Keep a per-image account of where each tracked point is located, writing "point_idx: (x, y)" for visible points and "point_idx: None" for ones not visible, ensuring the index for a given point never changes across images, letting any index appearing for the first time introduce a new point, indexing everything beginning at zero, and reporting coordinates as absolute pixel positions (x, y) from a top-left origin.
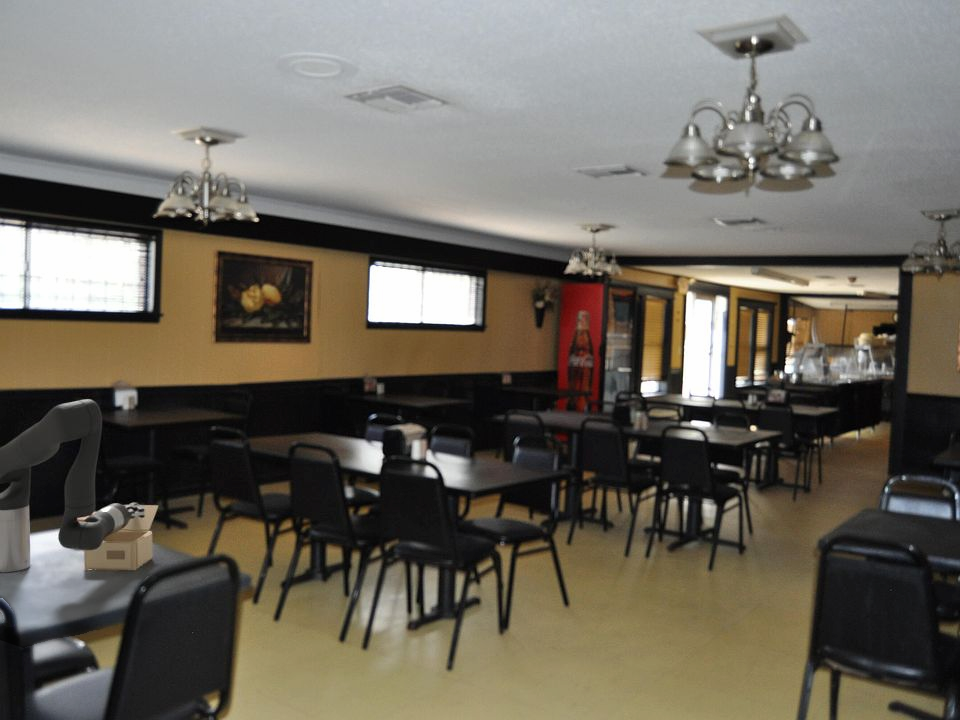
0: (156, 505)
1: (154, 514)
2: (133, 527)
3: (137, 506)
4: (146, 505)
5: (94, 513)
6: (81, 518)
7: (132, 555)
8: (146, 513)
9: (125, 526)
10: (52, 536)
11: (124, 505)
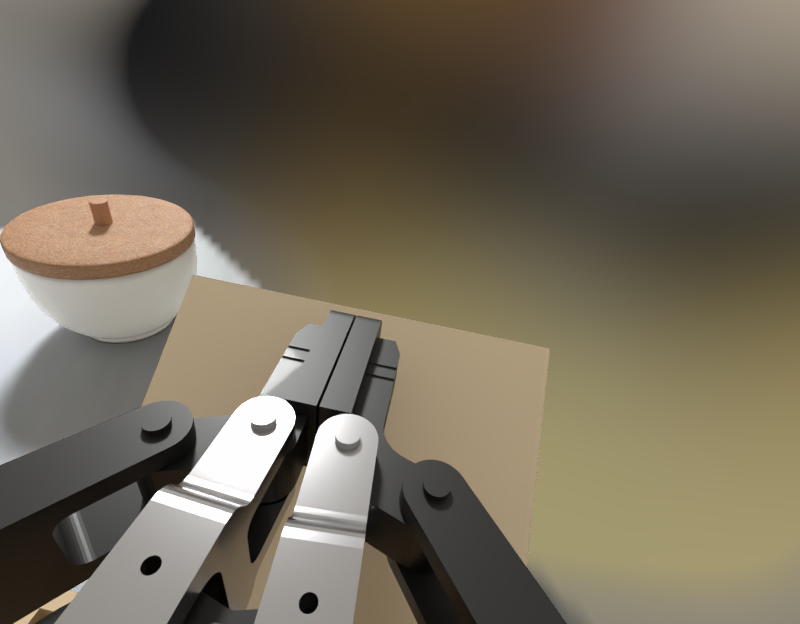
0: (537, 349)
1: (537, 459)
2: None
3: (454, 537)
4: (444, 329)
5: (129, 211)
6: (37, 250)
7: None
8: (458, 432)
9: (261, 576)
10: (4, 259)
11: (226, 525)
